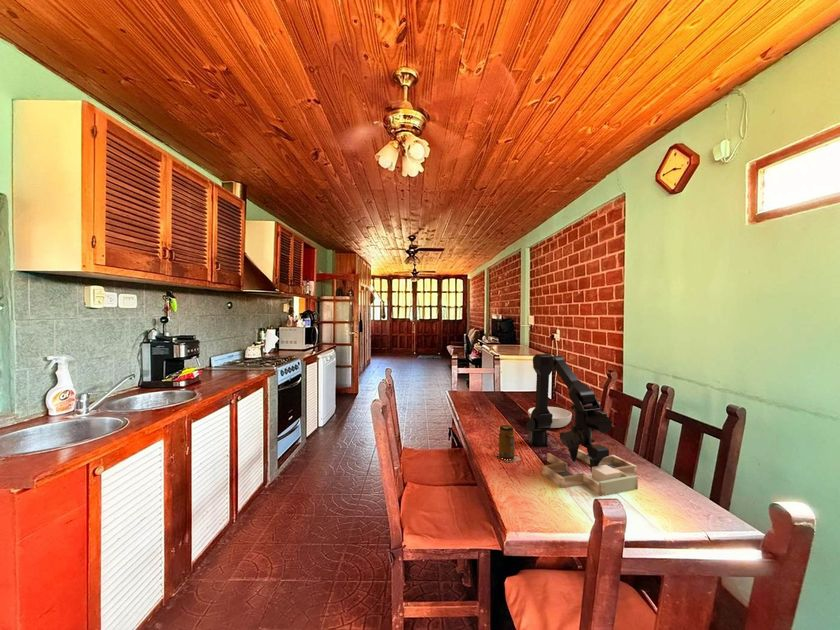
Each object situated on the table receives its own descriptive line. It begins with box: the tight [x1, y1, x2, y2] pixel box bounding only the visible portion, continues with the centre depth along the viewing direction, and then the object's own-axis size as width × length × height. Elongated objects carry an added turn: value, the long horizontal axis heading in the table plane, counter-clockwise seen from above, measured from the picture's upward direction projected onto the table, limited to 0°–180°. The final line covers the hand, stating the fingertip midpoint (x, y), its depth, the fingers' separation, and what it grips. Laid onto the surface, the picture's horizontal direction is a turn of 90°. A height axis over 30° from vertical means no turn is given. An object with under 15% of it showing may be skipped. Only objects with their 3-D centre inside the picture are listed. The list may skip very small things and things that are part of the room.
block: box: [591, 465, 620, 482], centre depth 120 cm, size 6×6×5 cm
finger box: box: [546, 448, 639, 496], centre depth 127 cm, size 27×14×4 cm, turn 17°
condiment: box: [493, 424, 522, 463], centre depth 142 cm, size 7×8×12 cm
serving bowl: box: [527, 406, 573, 429], centre depth 181 cm, size 21×21×7 cm
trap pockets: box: [541, 454, 638, 489], centre depth 127 cm, size 10×32×3 cm, turn 107°
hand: (582, 466), depth 130 cm, fingers open, 9 cm apart
